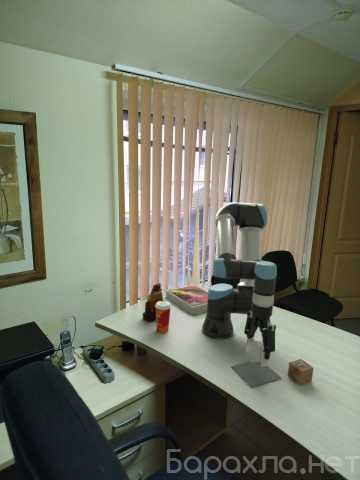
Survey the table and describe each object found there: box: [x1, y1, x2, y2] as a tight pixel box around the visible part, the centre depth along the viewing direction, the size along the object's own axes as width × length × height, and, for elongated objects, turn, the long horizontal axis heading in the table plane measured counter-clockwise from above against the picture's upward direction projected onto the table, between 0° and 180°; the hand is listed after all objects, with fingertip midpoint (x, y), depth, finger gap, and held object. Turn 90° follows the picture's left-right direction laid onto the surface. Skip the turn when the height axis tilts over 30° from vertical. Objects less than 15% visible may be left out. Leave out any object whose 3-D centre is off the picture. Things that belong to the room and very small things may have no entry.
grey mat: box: [230, 360, 282, 389], centre depth 115 cm, size 13×14×1 cm
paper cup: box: [155, 300, 172, 334], centre depth 143 cm, size 8×8×14 cm
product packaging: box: [165, 284, 208, 316], centre depth 179 cm, size 22×28×5 cm
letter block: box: [287, 358, 314, 387], centre depth 112 cm, size 6×6×6 cm
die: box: [245, 340, 264, 364], centre depth 113 cm, size 8×9×10 cm
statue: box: [142, 282, 164, 323], centre depth 154 cm, size 12×8×20 cm, turn 129°
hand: (256, 359), depth 114 cm, fingers closed on die, 8 cm apart
